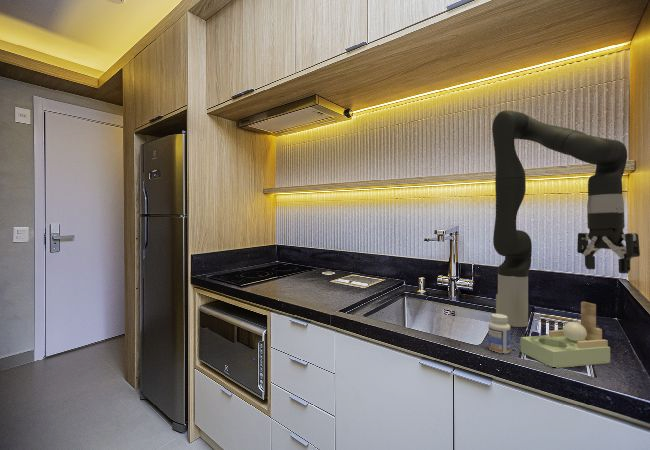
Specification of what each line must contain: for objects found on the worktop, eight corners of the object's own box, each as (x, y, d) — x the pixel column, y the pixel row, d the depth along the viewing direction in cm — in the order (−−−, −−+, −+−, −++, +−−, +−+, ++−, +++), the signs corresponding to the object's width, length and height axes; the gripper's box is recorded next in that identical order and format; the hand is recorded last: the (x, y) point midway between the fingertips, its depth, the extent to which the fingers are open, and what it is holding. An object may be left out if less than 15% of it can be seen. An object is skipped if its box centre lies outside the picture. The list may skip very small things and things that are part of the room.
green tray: (520, 351, 85) (520, 331, 85) (572, 347, 88) (572, 328, 88) (553, 368, 75) (553, 345, 75) (610, 362, 78) (610, 341, 78)
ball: (558, 338, 84) (558, 320, 84) (573, 337, 85) (573, 319, 85) (575, 345, 80) (576, 326, 80) (592, 344, 80) (592, 324, 80)
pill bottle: (502, 346, 89) (503, 312, 89) (515, 354, 84) (515, 318, 84) (484, 346, 89) (484, 312, 89) (495, 354, 84) (495, 318, 84)
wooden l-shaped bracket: (575, 335, 86) (575, 300, 86) (579, 335, 86) (579, 300, 86) (598, 343, 80) (598, 306, 80) (601, 343, 80) (602, 305, 80)
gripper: (568, 213, 91) (570, 268, 91) (622, 210, 77) (624, 275, 77) (590, 213, 92) (591, 267, 92) (647, 210, 78) (648, 274, 78)
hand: (606, 271), depth 84 cm, fingers open, 8 cm apart
